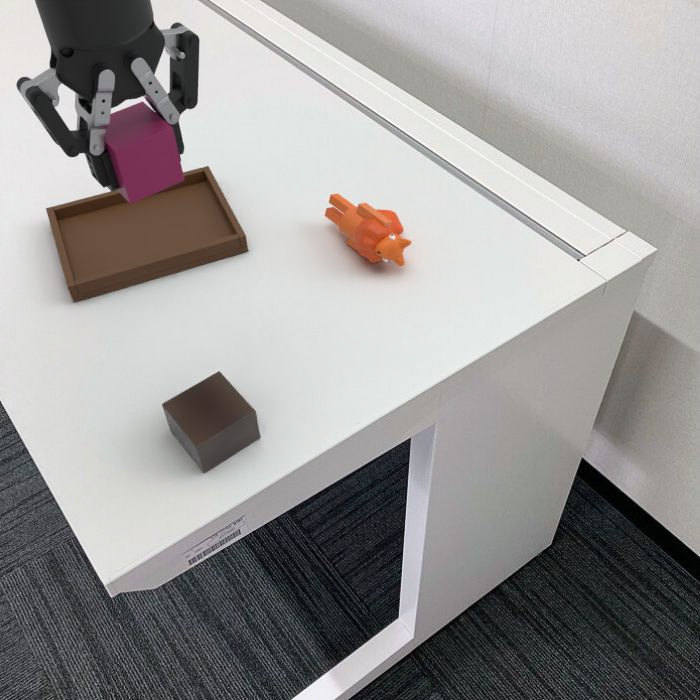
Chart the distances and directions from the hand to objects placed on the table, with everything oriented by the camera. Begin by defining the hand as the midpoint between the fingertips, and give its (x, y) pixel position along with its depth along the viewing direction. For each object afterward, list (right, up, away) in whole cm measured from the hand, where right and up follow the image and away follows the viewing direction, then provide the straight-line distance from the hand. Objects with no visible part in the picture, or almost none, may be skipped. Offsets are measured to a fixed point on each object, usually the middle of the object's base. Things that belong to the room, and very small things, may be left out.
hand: (141, 171), depth 63 cm
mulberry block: (0, 0, 0) cm, 1 cm away
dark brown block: (+5, -22, +6) cm, 24 cm away
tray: (-6, -2, +25) cm, 26 cm away
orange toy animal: (+20, -3, +24) cm, 31 cm away
